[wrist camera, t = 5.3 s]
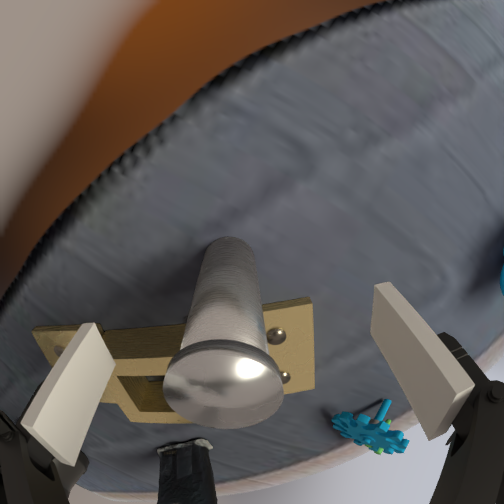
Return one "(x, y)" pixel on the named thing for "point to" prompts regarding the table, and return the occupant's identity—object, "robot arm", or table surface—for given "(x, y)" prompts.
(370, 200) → the table surface
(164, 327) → the hinge leaves
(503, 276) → the mug
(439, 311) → the table surface
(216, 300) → the hinge pin
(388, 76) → the table surface
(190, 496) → the electronic device
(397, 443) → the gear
